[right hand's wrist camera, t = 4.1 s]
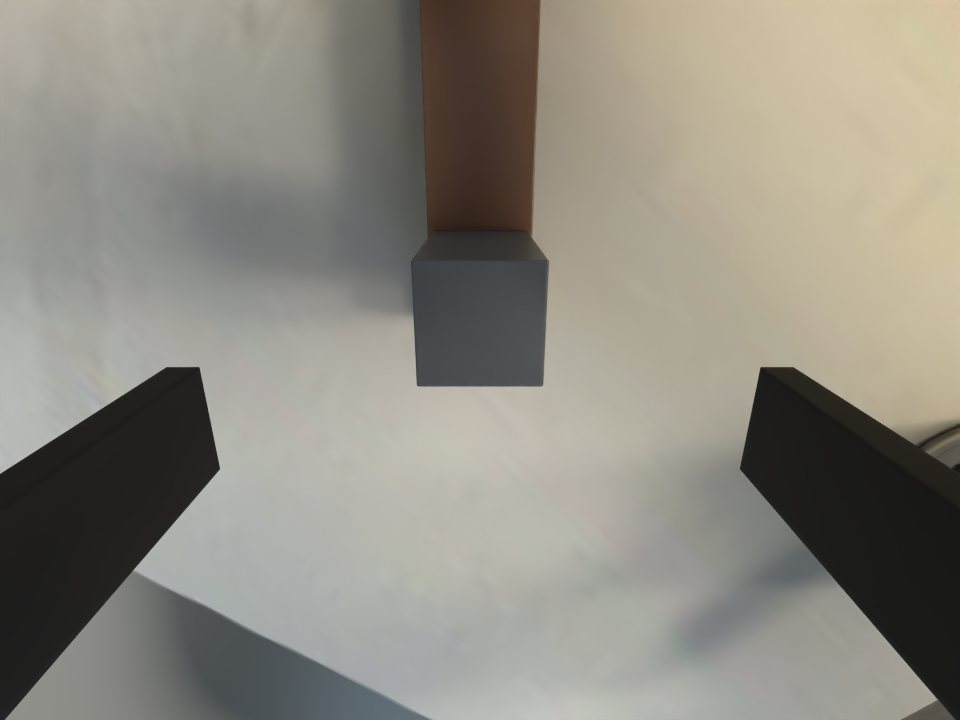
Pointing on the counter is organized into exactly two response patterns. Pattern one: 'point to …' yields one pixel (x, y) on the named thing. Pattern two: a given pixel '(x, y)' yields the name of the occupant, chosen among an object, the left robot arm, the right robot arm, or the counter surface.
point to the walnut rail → (479, 112)
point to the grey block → (479, 309)
